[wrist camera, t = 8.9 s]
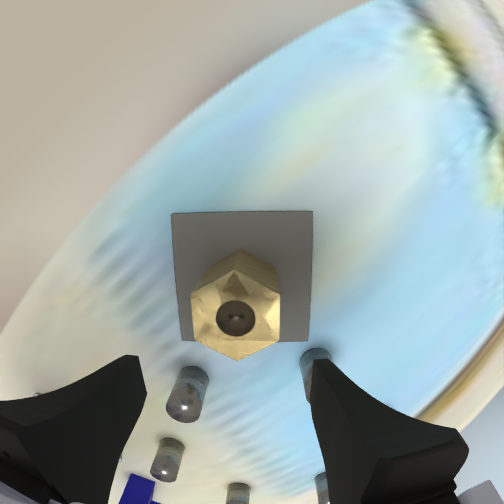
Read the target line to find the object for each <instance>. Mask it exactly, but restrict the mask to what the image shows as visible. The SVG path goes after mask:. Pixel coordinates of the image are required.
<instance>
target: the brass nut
mask: <svg viewBox="0 0 504 504" xmlns="http://www.w3.org/2000/svg"><path fill="white" fill-rule="evenodd" d="M191 307H192V318H193V328H194V338H195V340H196V341H198V342H200V343H202V344H204V345H206V346H208V347H210V348H212V349H214V350H216V351H218V352H220V353H222V354H224V355H226V356H228V357H230V358H232V359H234V360H236V361H239V360H241V359H243V358H245V357H247V356H249V355H251V354H253V353H255V352H257V351H259V350H261V349H264V348H266V347H268V346H270V345H272V344H274V343H276V342H278V341H279V326H280V292H279V286H278V280H277V274H276V268H275V267H273V266H271V265H269V264H267V263H266V262H264V261H262V260H260V259H258V258H257V257H255V256H253V255H251V254H249V253H247V252H246V251H244V250H242V249H239V250H238V251H236V252H234V253H233V254H231V255H229V256H227V257H226V258H224V259H222V260H221V261H219V262H217V263H216V264H214V265H212V266H210V267H209V268H207V270H206V271H205V273H204V274H203V276H202V277H201V279H200V281H199V282H198V284H197V285H196V287H195V288H194V290H193V292H192V293H191Z"/></svg>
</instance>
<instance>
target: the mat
mask: <svg viewBox="0 0 504 504" xmlns="http://www.w3.org/2000/svg"><path fill="white" fill-rule="evenodd" d="M171 225H172V242H173V256H174V269H175V281H176V292H177V302H178V311H179V320H180V329H181V337H182V341H196V340H195V338H194V328H193V318H192V307H191V293H192V292H193V290H194V288H195V287H196V285H197V284H198V282H199V281H200V279H201V277H202V276H203V274H204V273H205V271H206V270H207V268H209V267H210V266H212V265H214V264H216V263H217V262H219V261H221V260H222V259H224V258H226V257H227V256H229V255H231V254H233V253H234V252H236V251H238V250H239V249H242V250H244V251H246V252H247V253H249V254H251V255H253V256H255V257H257V258H258V259H260V260H262V261H264V262H266V263H267V264H269V265H271V266H273V267H275V268H276V274H277V280H278V286H279V292H280V326H279V341H278V342H297V341H308V335H309V319H310V300H311V276H312V239H313V211H248V212H205V213H176V214H171Z"/></svg>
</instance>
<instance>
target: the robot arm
mask: <svg viewBox="0 0 504 504" xmlns="http://www.w3.org/2000/svg"><path fill="white" fill-rule="evenodd" d="M146 396H147V391H146V387H145V383H144V379H143V375H142V370H141V366H140V361H139V357H138V356H134V355H124V356H122V357H120V358H118V359H116V360H114V361H113V362H111V363H109V364H107V365H106V366H104V367H102V368H100V369H99V370H97V371H95V372H94V373H92V374H90V375H88V376H86V377H84V378H82V379H80V380H78V381H76V382H74V383H72V384H70V385H68V386H65V387H63V388H60V389H58V390H55V391H52V392H49V393H45V394H41V395H38V394H34V395H33V397H29V398H24V399H17V400H8V401H0V504H108V500H109V495H110V490H111V486H112V482H113V479H114V475H115V471H116V468H117V465H118V462H121V460H122V459H121V457H120V456H121V453H122V451H123V449H124V446H125V444H126V442H127V440H128V438H129V436H130V434H131V432H132V430H133V428H134V426H135V424H136V422H137V420H138V418H139V416H140V414H141V412H142V409H143V406H144V402H145V399H146ZM310 405H311V412H312V419H313V423H314V426H315V430H316V434H317V437H318V441H319V445H320V448H321V452H322V456H323V459H324V464H325V470H326V477H327V485H328V494H329V503H330V504H504V502H503V500H502V499H501V497H500V496H499V494H498V492H497V490H496V489H495V487H494V486H493V484H492V482H491V481H490V480H486V481H485V482H483V483H481V484H479V485H477V486H475V487H473V488H470V489H468V490H466V491H465V492H463V493H462V494H460V495H459V496H457V497H456V495H455V493H454V490H455V489H456V488H457V486H456V484H455V482H454V480H453V479H454V478H455V476H456V475H457V473H458V472H459V470H460V469H461V467H462V466H463V464H464V463H465V461H466V459H467V456H468V453H469V448H468V446H467V444H466V443H465V441H464V439H463V438H462V437H461V435H460V434H459V432H458V431H457V430H456V429H455V428H449V427H444V426H439V425H434V424H431V423H427V422H424V421H421V420H418V419H415V418H412V417H410V416H407V415H405V414H403V413H401V412H398V411H396V410H394V409H392V408H390V407H388V406H387V405H385V404H383V403H382V402H380V401H378V400H377V399H375V398H374V397H372V396H371V395H369V394H368V393H367V392H365V391H364V390H363V389H361V388H360V387H359V386H357V385H356V384H355V383H354V382H353V381H352V380H350V379H349V378H348V377H347V376H346V375H345V374H344V373H343V372H342V371H341V370H340V369H339V368H338V367H337V366H336V365H335V364H334V363H333V362H332V361H331V360H329V359H328V358H326V359H313V369H312V380H311V390H310Z"/></svg>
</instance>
